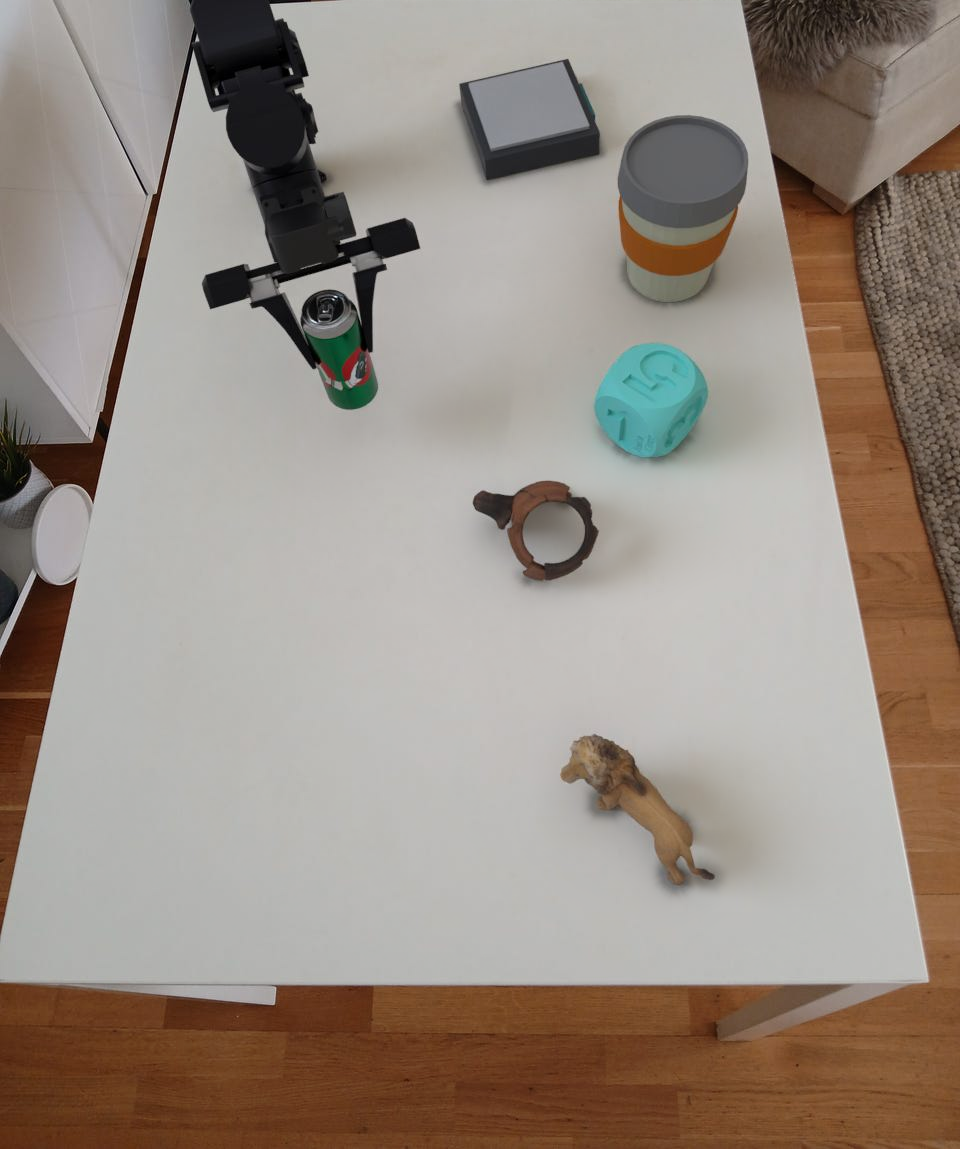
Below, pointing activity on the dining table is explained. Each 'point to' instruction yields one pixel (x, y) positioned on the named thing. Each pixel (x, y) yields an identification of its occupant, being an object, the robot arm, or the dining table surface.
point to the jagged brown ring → (518, 511)
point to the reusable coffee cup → (678, 202)
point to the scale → (529, 119)
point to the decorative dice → (650, 399)
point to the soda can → (339, 349)
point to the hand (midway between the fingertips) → (342, 360)
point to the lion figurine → (633, 799)
